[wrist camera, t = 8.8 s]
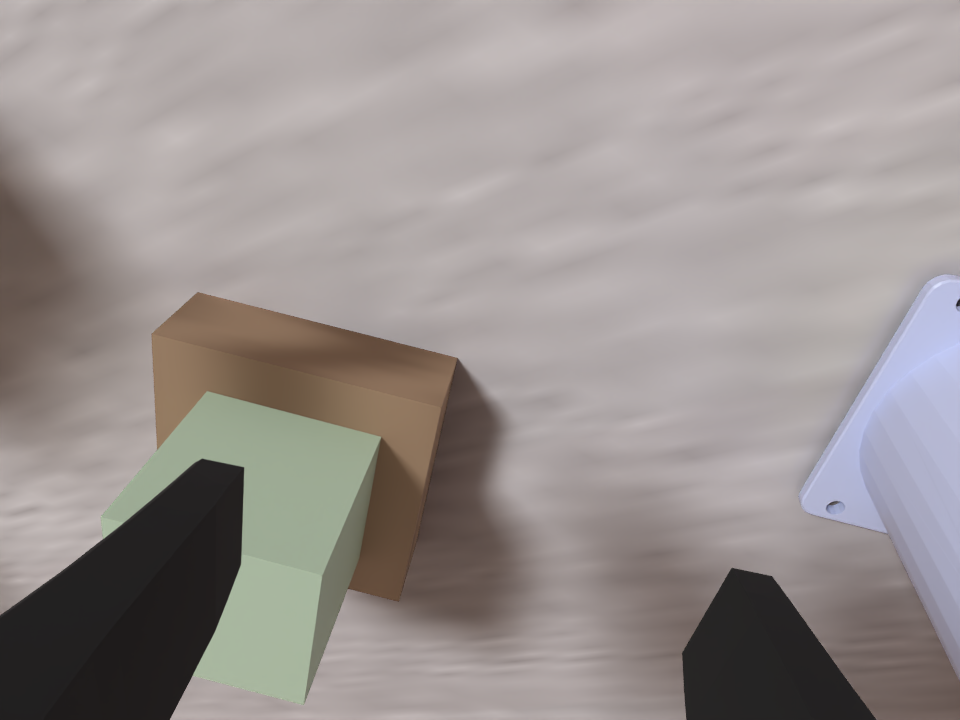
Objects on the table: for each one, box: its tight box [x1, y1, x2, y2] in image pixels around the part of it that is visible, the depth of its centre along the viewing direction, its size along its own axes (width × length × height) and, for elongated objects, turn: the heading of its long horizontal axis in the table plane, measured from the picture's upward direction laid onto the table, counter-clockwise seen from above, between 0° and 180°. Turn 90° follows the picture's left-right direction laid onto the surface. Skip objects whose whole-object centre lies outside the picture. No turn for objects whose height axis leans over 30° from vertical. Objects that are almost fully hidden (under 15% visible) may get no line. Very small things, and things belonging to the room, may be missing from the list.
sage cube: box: [101, 391, 381, 705], centre depth 19 cm, size 5×5×5 cm
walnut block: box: [152, 292, 458, 602], centre depth 22 cm, size 8×8×3 cm
